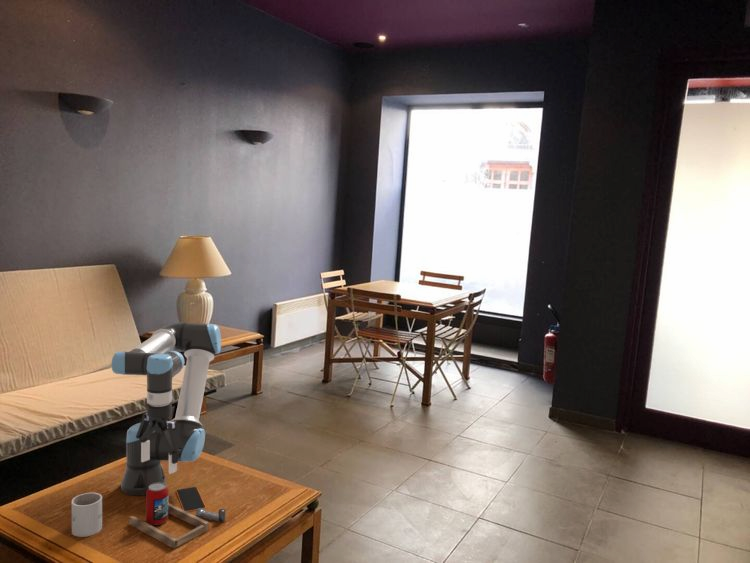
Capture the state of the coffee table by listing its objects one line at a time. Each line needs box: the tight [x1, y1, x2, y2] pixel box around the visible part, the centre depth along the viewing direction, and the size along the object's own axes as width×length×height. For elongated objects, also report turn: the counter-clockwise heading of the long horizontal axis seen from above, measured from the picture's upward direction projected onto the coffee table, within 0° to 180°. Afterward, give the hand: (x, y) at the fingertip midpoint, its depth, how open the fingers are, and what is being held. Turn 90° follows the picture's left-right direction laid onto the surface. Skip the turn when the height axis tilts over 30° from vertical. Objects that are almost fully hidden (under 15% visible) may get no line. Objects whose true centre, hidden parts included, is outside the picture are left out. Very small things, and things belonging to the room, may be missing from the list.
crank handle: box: [195, 508, 227, 523], centre depth 194 cm, size 11×3×4 cm, turn 72°
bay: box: [129, 502, 210, 549], centre depth 188 cm, size 22×13×2 cm, turn 57°
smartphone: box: [175, 486, 207, 513], centre depth 206 cm, size 8×17×1 cm, turn 28°
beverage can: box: [145, 482, 169, 526], centre depth 190 cm, size 7×7×12 cm
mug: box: [71, 492, 103, 538], centre depth 185 cm, size 12×9×10 cm
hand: (158, 466), depth 189 cm, fingers open, 13 cm apart
